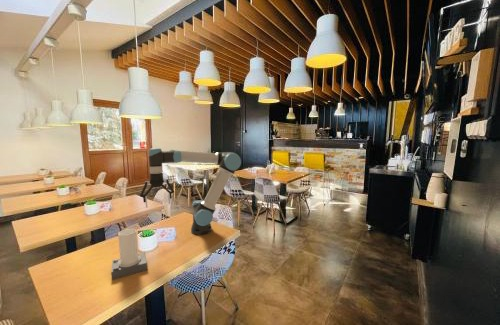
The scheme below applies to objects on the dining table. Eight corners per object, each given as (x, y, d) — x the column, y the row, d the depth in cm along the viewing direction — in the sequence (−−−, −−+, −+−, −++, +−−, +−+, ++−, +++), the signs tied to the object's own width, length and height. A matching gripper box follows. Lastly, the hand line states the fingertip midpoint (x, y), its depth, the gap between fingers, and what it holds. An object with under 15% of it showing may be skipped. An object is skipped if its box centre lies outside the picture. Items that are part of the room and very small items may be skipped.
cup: (130, 265, 111) (128, 235, 110) (116, 264, 113) (114, 234, 111) (141, 257, 119) (139, 229, 118) (128, 255, 121) (126, 228, 119)
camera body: (145, 259, 126) (145, 250, 125) (147, 269, 115) (146, 260, 115) (113, 267, 118) (112, 258, 117) (111, 279, 107) (111, 270, 107)
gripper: (175, 170, 147) (177, 201, 149) (133, 173, 135) (136, 206, 137) (177, 171, 141) (179, 203, 143) (134, 175, 128) (136, 210, 131)
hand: (158, 205), depth 140 cm, fingers open, 13 cm apart
